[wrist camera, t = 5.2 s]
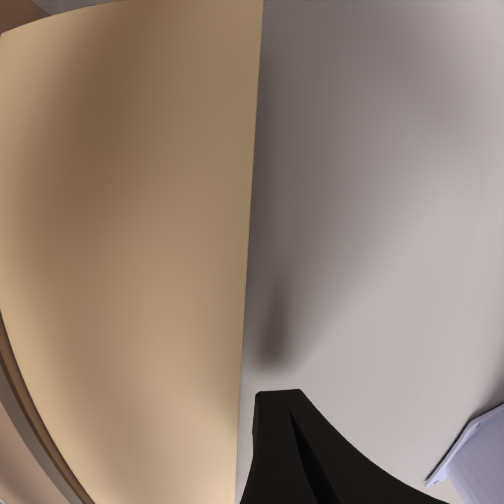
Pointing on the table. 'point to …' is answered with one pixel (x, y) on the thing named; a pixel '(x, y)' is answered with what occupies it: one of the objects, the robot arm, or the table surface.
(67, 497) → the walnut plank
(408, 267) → the table surface
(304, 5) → the table surface
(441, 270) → the table surface
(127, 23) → the oak plank
